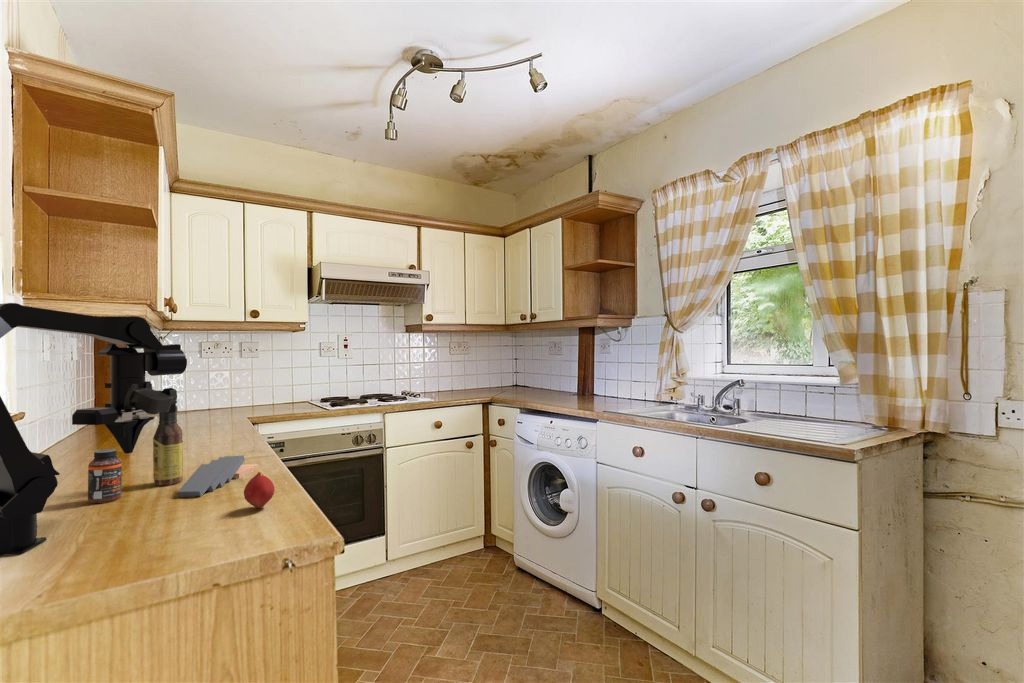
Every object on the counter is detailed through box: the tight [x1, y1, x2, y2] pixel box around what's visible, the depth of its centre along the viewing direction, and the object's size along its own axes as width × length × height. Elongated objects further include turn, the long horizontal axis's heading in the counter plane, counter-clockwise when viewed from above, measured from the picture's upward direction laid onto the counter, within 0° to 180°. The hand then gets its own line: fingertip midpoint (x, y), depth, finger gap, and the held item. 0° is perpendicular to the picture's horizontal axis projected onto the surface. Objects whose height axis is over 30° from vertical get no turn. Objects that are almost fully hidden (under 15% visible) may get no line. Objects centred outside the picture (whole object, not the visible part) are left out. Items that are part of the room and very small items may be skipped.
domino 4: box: [223, 454, 246, 483], centre depth 131 cm, size 2×5×10 cm
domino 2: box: [206, 459, 233, 492], centre depth 123 cm, size 2×5×10 cm
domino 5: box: [232, 463, 259, 480], centre depth 135 cm, size 2×5×10 cm
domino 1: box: [177, 463, 223, 498], centre depth 119 cm, size 2×5×10 cm
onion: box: [243, 470, 276, 509], centre depth 106 cm, size 6×6×8 cm
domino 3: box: [216, 456, 240, 488], centre depth 127 cm, size 2×5×10 cm
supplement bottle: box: [87, 448, 123, 504], centre depth 113 cm, size 6×6×11 cm
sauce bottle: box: [152, 404, 184, 486], centre depth 126 cm, size 7×6×20 cm
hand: (128, 453), depth 102 cm, fingers closed
